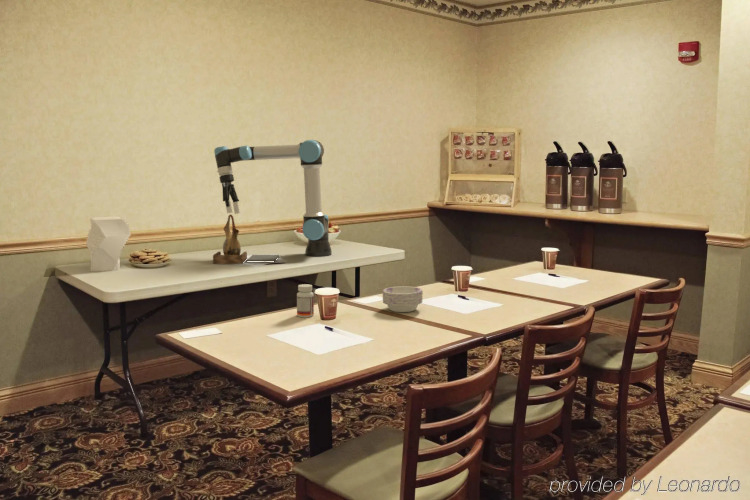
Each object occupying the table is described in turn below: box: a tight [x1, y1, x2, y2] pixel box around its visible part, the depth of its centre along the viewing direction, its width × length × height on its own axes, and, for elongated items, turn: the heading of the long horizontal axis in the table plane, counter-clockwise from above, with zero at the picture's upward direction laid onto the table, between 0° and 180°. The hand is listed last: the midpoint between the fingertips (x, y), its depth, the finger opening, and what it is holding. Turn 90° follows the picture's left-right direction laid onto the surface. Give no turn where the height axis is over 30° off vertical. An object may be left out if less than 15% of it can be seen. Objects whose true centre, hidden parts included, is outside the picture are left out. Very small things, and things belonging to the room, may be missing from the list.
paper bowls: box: [382, 285, 424, 313], centre depth 259 cm, size 15×15×8 cm
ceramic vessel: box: [222, 214, 242, 255], centre depth 366 cm, size 16×9×25 cm, turn 34°
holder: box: [212, 251, 248, 265], centre depth 363 cm, size 15×13×4 cm
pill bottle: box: [296, 283, 315, 318], centre depth 248 cm, size 6×6×11 cm
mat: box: [246, 254, 280, 263], centre depth 371 cm, size 15×18×1 cm
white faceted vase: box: [85, 215, 132, 272], centre depth 342 cm, size 21×27×26 cm
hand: (233, 213), depth 372 cm, fingers open, 13 cm apart
